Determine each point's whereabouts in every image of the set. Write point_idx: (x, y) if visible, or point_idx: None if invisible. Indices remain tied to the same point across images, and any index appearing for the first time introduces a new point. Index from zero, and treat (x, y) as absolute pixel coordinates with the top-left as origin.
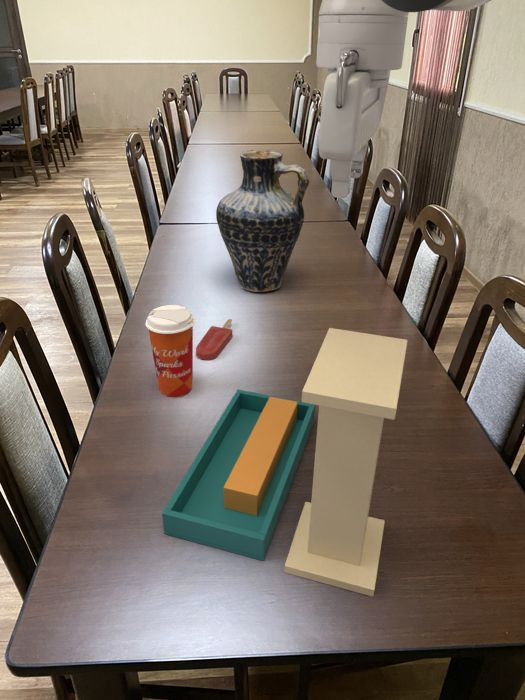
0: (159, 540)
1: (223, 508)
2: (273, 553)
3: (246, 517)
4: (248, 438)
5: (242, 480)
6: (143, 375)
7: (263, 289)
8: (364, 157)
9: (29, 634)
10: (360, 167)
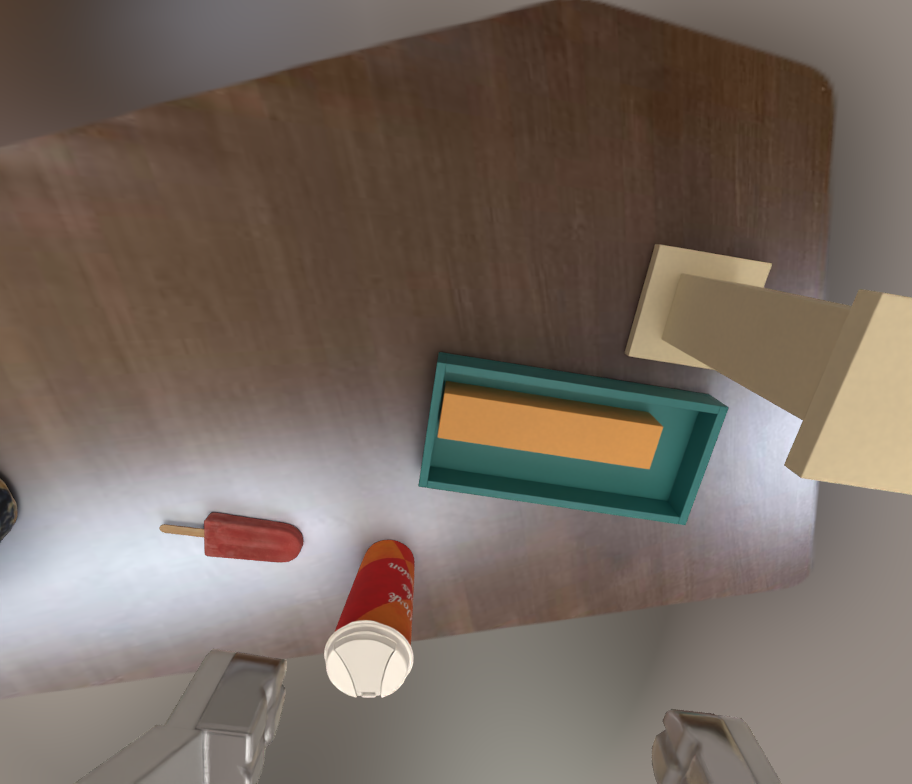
0: None
1: None
2: (698, 384)
3: None
4: None
5: (635, 448)
6: None
7: (4, 490)
8: (149, 749)
9: (784, 581)
10: (264, 714)
